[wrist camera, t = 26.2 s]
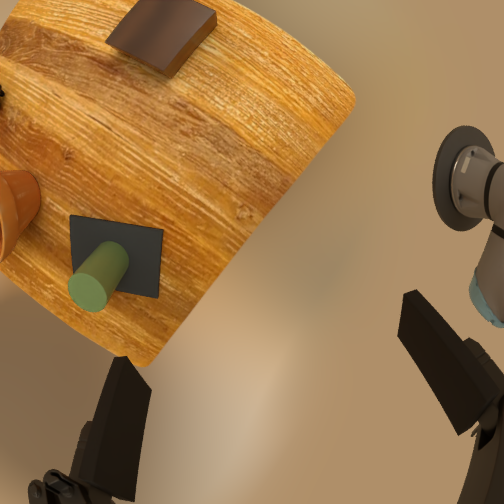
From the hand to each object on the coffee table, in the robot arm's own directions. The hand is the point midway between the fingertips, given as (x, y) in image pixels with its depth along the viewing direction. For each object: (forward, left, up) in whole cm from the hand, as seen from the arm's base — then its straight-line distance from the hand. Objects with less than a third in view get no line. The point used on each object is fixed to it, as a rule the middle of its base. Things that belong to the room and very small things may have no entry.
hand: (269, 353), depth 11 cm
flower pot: (+37, +5, -29) cm, 47 cm away
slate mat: (+18, +13, -29) cm, 36 cm away
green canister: (+18, +13, -28) cm, 36 cm away
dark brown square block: (+15, -21, -29) cm, 39 cm away
